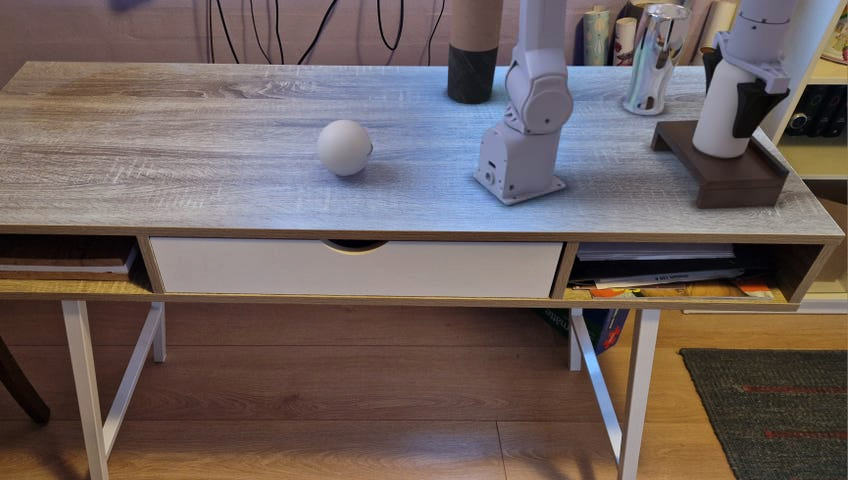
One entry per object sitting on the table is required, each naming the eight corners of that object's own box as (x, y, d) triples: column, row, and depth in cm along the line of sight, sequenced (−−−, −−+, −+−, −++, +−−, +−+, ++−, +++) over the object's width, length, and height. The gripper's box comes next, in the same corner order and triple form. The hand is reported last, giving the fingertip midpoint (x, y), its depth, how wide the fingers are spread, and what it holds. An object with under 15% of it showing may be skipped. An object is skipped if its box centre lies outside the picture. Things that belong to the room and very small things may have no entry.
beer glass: (668, 118, 107) (697, 20, 98) (621, 114, 108) (645, 16, 99) (663, 99, 113) (689, 4, 103) (618, 95, 114) (640, 1, 104)
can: (720, 132, 95) (751, 46, 88) (755, 155, 91) (790, 65, 83) (681, 140, 94) (708, 52, 86) (714, 163, 89) (745, 73, 81)
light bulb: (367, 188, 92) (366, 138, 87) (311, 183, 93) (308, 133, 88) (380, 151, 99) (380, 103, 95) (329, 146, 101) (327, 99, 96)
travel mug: (487, 107, 110) (502, -25, 98) (440, 101, 112) (449, -31, 100) (496, 88, 116) (512, -40, 104) (451, 82, 118) (461, -45, 105)
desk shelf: (698, 208, 88) (710, 174, 85) (649, 146, 101) (658, 114, 98) (775, 205, 89) (790, 171, 86) (717, 144, 101) (728, 112, 98)
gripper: (834, 37, 76) (787, 149, 84) (765, -6, 87) (730, 96, 96) (770, 39, 76) (730, 151, 84) (710, -4, 87) (680, 98, 95)
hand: (726, 122), depth 90 cm, fingers open, 7 cm apart
